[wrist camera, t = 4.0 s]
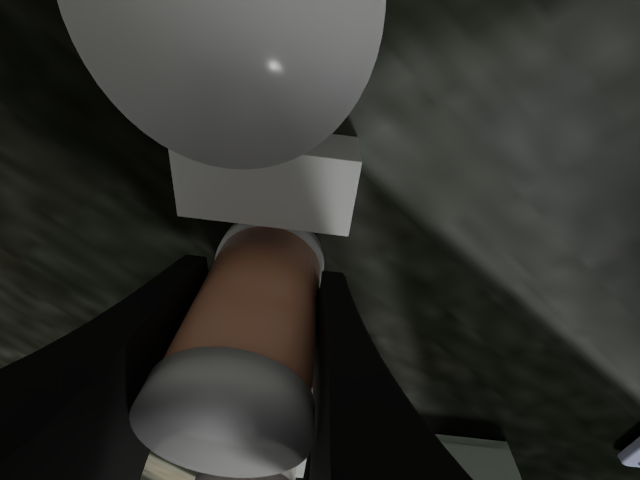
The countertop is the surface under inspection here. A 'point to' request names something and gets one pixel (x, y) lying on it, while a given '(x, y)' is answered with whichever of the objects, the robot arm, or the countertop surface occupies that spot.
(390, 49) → the countertop surface
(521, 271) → the countertop surface
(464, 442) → the tray
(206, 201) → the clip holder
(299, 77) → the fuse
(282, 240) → the marked fuse
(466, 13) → the countertop surface
